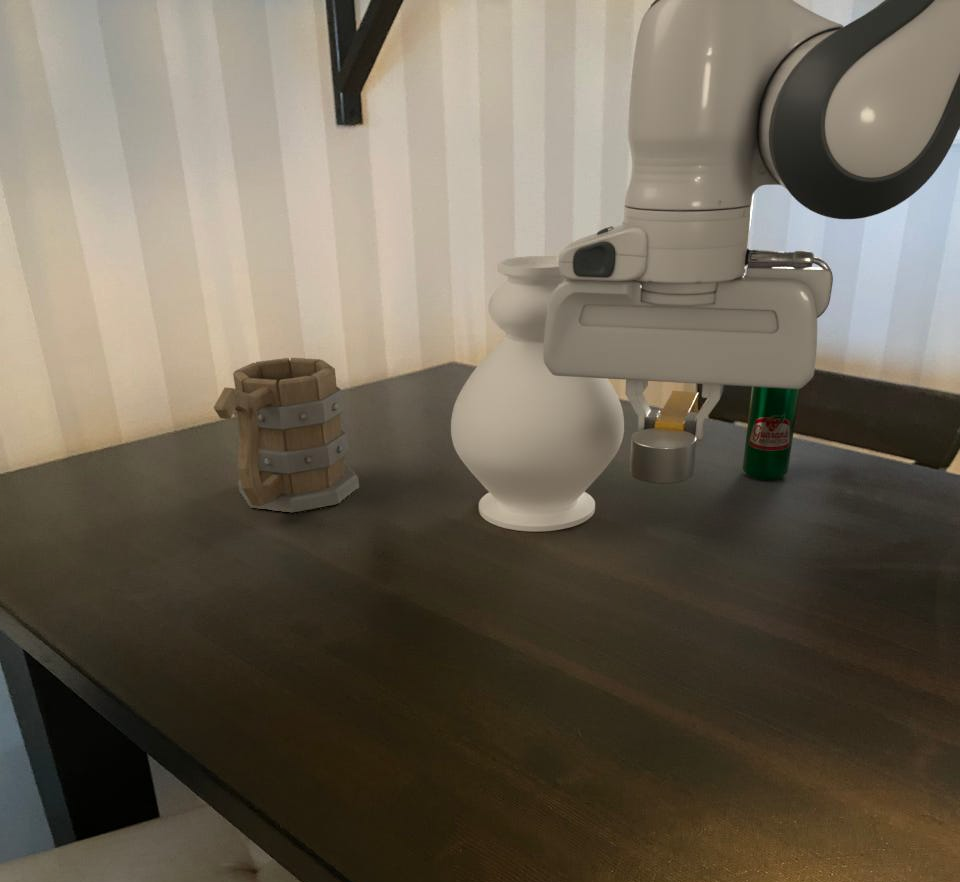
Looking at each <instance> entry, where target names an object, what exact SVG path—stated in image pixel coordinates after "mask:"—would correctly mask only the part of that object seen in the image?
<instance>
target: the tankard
mask: <svg viewBox="0 0 960 882" xmlns="http://www.w3.org/2000/svg"><path fill="white" fill-rule="evenodd" d="M232 375H233V382H234V387H224V388H223V389H222V391H221V393H220V395H219V397H218V398H217V400H216V402H215V404H214V405H213V410H214V411H215V413H216V414H217V415H218V417H219V419H221V420H222V419H224V420H230V419H231V418H232V417H233V416H234V417H235V418H236V419H237V421H236V422H237V429H238V438H237V445H238V456H237V470H238V476H239V479H238V480H237V485H238V490H239V493H240V495H241V494H242V495H241V496H242V498H243V497H244V498H243V499H244V501H245V500H246V501H245V502H246V504H247V505H248V506H249V508H250V509H252V508H258V509H268V510H274V511H282V512H292V513H293V512H298V511H303V510H308V509H313V508H316V507H323V506H328V505H334V504H337V503H339V504H341V501H342V500H343V499H344V500H346V499H347V498H348V497H349V496H351V495H352V494H353V493H354V492H356V491H357V490H358V489H359V488H360V481H359V476H358V475H357V474H356V473H355V472H354V471H353V470H352V469H351V468H350V467H349V466H348V465H347V464H346V463H345V457H346V456H347V455H349V454H350V447H349V437H348V435H349V434H347V433H346V432H345V431H344V430H343V429H342V425H341V416H340V415H341V414H342V413H344V412H345V411H346V406H345V395H344V391H343V390H342V389H341V388H340V387H338V385H337V377H336V369H335V367H333V366H332V365H330V364H329V363H328V362H326V361H325V360H324V359H319V358H318V359H317V358H303V357H290V358H289V357H282V358H276V359H275V358H274V359H267V360H260V361H255V362H252V363H249V364H247V365H245V366H242V367H240V368H238V369H236V370H234V372H233V373H232ZM356 489H357V490H356ZM355 490H356V491H355ZM353 491H354V492H353ZM352 492H353V493H352ZM351 493H352V494H351ZM350 494H351V495H350ZM348 495H349V496H348ZM347 496H348V497H347ZM346 497H347V498H346ZM345 498H346V499H345ZM344 500H343V501H344ZM343 501H342V502H343ZM258 509H257V510H258ZM274 511H273V512H274ZM282 512H281V513H282Z"/></svg>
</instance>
